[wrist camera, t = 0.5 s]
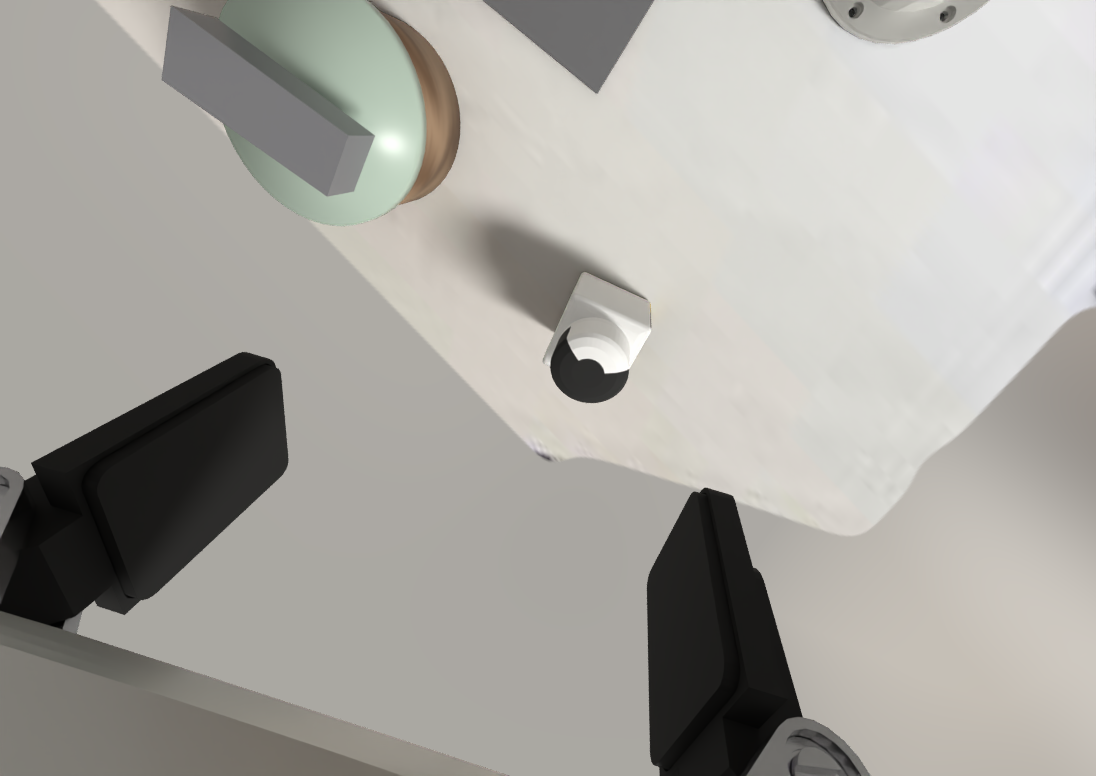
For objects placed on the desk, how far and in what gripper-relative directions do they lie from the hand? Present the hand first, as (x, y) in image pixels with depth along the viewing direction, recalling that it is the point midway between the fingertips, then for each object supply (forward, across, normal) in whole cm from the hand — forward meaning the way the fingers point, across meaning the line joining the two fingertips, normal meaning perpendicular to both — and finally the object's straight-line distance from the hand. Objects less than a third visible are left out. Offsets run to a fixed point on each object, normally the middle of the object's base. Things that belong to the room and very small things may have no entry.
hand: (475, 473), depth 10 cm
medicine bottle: (+35, -3, +8) cm, 36 cm away
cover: (+27, +20, -4) cm, 34 cm away
